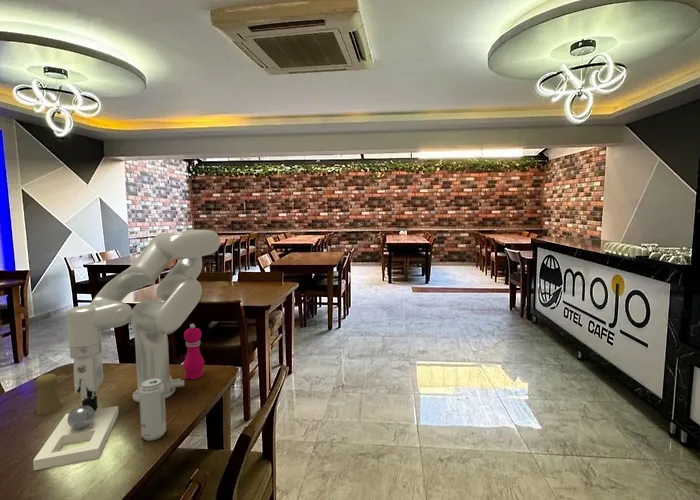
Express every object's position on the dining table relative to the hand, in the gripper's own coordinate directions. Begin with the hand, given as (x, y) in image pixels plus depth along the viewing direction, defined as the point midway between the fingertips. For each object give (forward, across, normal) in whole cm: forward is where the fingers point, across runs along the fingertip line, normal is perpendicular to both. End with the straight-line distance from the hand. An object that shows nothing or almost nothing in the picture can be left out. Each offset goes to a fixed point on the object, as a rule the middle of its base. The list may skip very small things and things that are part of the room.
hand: (90, 410), depth 109 cm
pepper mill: (+3, +22, -27) cm, 35 cm away
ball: (-2, -8, 0) cm, 8 cm away
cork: (+3, +12, +14) cm, 19 cm away
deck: (+3, -9, 0) cm, 10 cm away
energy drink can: (+3, -14, -18) cm, 23 cm away
